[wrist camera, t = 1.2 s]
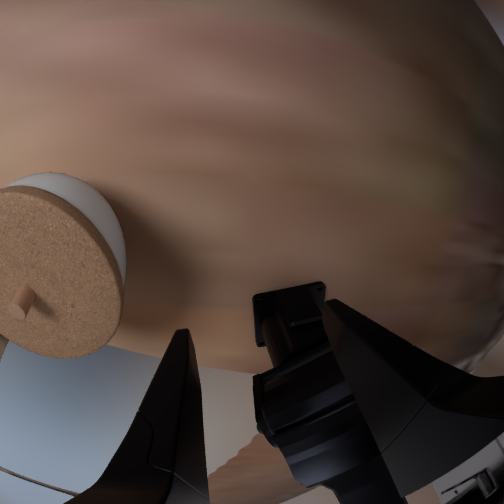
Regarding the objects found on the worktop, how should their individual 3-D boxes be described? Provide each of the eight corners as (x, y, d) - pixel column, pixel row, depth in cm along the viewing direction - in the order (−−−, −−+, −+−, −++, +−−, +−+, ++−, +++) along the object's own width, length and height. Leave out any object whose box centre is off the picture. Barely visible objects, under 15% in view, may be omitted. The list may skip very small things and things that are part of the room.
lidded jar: (115, 302, 22) (99, 399, 14) (7, 258, 18) (-44, 337, 10) (162, 187, 18) (147, 265, 11) (29, 132, 14) (-59, 174, 6)
